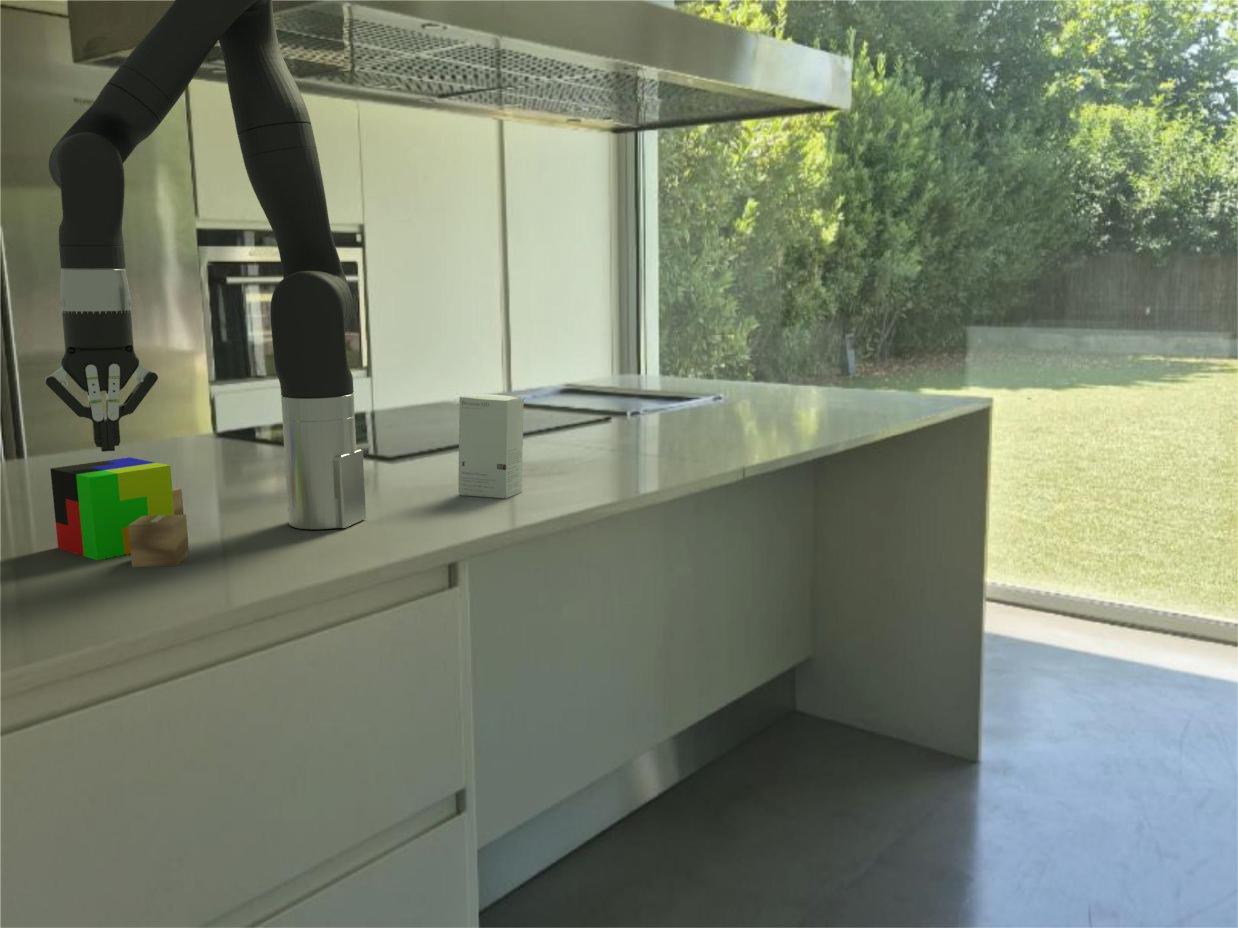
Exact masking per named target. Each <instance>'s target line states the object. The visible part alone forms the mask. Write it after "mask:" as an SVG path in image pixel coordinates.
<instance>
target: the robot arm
mask: <svg viewBox="0 0 1238 928" xmlns="http://www.w3.org/2000/svg"><path fill="white" fill-rule="evenodd" d="M218 42H219V47H220V50H221V54H222V57H223V62H224V67H225V75H226V80H227V89H228V93H229V97H230V103H231V109H232V113H233V118H234V124H235V129H236V134H237V138H238V143H239V148H240V151H241V154H242V159H243V163H244V168H245V170H246V174H247V177H248V180H249V182H250V185H251V187H252V189H253V192H254V194H255V196H256V199H257V201H258V203H259V205H260V207H261V209H262V211H263V213H264V215H265V217H266V220H267V221H268V223H269V225H270V227H271V230H272V232H273V235H274V238H275V241H276V245H277V249H278V252H279V259H280V264H281V265H280V266H281V270H282V271H281V272H282V276H283V277H282V278H283V279H281V280H280V281H279V282H278V283H277V285H275V288H274V290H273V293H272V296H271V299H270V308H269V309H270V315H269V317H270V327H271V339H272V340H271V341H272V350H273V351H272V353H273V360H274V361H273V362H274V369H275V373H276V375H277V379H278V381H279V384H280V385H279V386H280V395H281V396H280V398H281V399H280V401H281V415H282V417H281V418H282V433H283V447H284V449H283V450H284V463H285V466H284V467H285V481H286V484H285V485H286V497H287V512H288V524H289V526H290V527H292V528H296V529H300V530H301V529H302V530H329V529H345V528H349V527H350V526H353V525H354V524H357V523H359V522H361V521H363V520H366V519H367V511H366V510H367V509H366V489H365V487H366V486H365V470H364V469H365V468H364V451H363V450H362V449H360V448H357V439H356V436H357V435H356V419H355V418H356V416H355V415H356V414H355V413H356V412H355V395H354V392H355V391H354V379H353V377H354V376H353V373H352V371H351V369H350V365H349V362H348V357H347V346H346V345H347V342H346V330H347V328H348V326H349V325H350V323H351V322H352V321H351V320H352V318H353V313H354V299H353V295H352V292H351V289H350V286H349V282H348V280H347V277H346V274H345V271H344V269H343V266H342V262H341V259H340V256H339V253H338V250H337V246H336V244H335V241H334V236H333V233H332V228H331V223H330V219H329V218H330V217H329V212H328V205H327V204H328V203H327V197H326V191H325V186H324V179H323V175H322V170H321V166H320V165H321V164H320V159H319V154H318V149H317V148H318V147H317V144H316V138H315V135H314V130H313V126H312V122H311V118H310V115H309V111H308V108H307V105H306V103H305V101H304V98H303V96H302V94H301V91H300V89H299V87H298V85H297V83H296V81H295V78H293V75H292V73H291V72H290V69H289V67H288V65H287V63H286V61H285V58H284V56H283V54H282V50H281V47H280V43H279V39H278V34H277V28H276V21H275V15H274V8H273V0H174V1H173V2H172V3H171V5H170V6H169V8H168V9H167V10H166V12H165V13H164V14H163V15H162V17H161V18H160V19H159V20H158V21H157V22H156V24H154V26H153V27H152V28H151V30H149V32H147V34H146V35H145V36H144V37H143V39H141V40H140V42H139V43H138V44H137V46H135V48H133V50H132V52H131V53H129V55H128V56H127V57H126V58H125V60H124V61H123V62H122V64H120V66H119V67H118V68H117V70H116V71H115V72H114V74H113V75H112V76H111V77H110V78H109V80H107V83H106V84H105V85H104V86H103V88H102V89H101V91H100V92H99V94H98V95H97V97H96V99H95V100H94V101H93V103H92V105H91V106H90V107H89V108H88V109H87V110H86V111H85V112H84V113H83V114H82V115H81V116H80V117H79V118H78V119H77V120H76V121H75V122H74V123H73V124H72V126H71V127H70V128H69V129H68V130H67V131H65V134H63V136H62V137H61V138H60V139H59V140H58V141H57V142H56V144H55V146H53V148H52V150H51V152H50V155H49V158H48V169H49V174H50V177H51V178H52V181H53V182H54V183H55V185H56V186H57V187H58V188H59V189H60V195H61V196H60V197H61V209H62V219H61V222H60V224H59V229H58V246H59V247H58V248H59V252H58V253H59V261H60V262H59V263H60V281H59V283H60V284H59V285H60V286H59V287H60V288H59V290H60V306H61V315H62V327H63V341H64V342H63V343H64V355H63V357H62V358H61V364H60V365H61V366H60V367H59V368H58V369H57V370H55V371H54V372H53V373H52V374H51V375H50V374H49V375H47V376H45V377H44V383H45V384H46V386H48V388H49V389H50V390H51V391H52V392H53V393H54V394H55V395H56V396H57V397H58V398H60V400H61V401H62V402H63V403H64V404H66V405H67V407H68V408H69V409H70V410H71V411H73V413H75V415H76V416H77V417H79V418H86V419H90V420H91V422H92V423H91V424H92V434H93V442H94V444H95V446H96V447H97V448H100V451H101V452H115V451H116V447H120V443H121V434H120V432H121V431H120V419H121V418H123V417H125V416H128V415H131V414H134V412H135V411H136V410H137V408H138V407H139V405H140V404H141V403H142V402H143V400H144V398H145V397H146V396H147V394H149V392H150V391H151V390H152V388H153V386H154V385H155V384H156V382H157V381H158V379H159V376H158V375H157V373H155V372H154V371H152V370H149V369H147V368H146V367H144V366H143V365H141V364H140V359H139V357H138V356H137V354H136V352H135V348H134V337H133V336H134V335H133V323H132V322H133V321H132V310H131V309H132V308H131V307H132V299H131V296H130V294H131V292H130V286H129V282H128V276H127V270H126V268H127V267H126V254H125V243H124V235H123V217H124V204H125V187H126V186H125V181H126V178H125V169H124V164H125V162H126V161H127V159H128V158H129V157H130V155H132V153H133V151H134V150H135V149H136V148H137V147H138V145H139V144H141V143H142V142H143V141H145V140H146V139H147V138H149V136H151V135H152V134H153V133H154V132H155V131H156V129H157V128H158V127H159V126H160V124H162V122H163V121H164V119H165V118H166V116H167V115H168V114H169V113H170V112H171V110H172V109H173V107H175V105H176V103H177V102H178V101H179V99H181V97H182V96H183V94H184V93H185V91H186V90H187V88H188V86H189V85H190V83H191V82H192V80H193V79H194V77H195V76H196V74H197V72H198V71H199V69H200V68H201V66H202V65H203V63H204V62H205V60H206V58H208V56H209V54H210V53H211V51H212V50H213V48H214V47H215V46H216V44H217V43H218ZM67 374H68V375H69V377H70V378H71V379H72V380H73V381H74V382H75V383H76V385H77V386H79V388H80V389H81V390H82V391H84V392H86V395H87V401H88V405H89V406H86V405H83V404H82V403H81V402H80V401H79V400H78V399H77V398H76V397H75V396H74V395H73V394H72V393H71V392H70V391H69V390H68V389H67V387H68V386H69V381H68V379H67ZM134 374H136V375H135V376H134V377H135V378H134V381H135V383H136V385H135V387H134V388H133V389H132V391H131V392H130V393H129V395H128V396H127V397H126V399H125V400H124V402H123V403H122V404H120V391H121V390H122V389H124V388H125V386H126V385H127V383H128V382H129V380H130V379H131V378H132V376H133V375H134ZM101 392H105V414H104V410H103V405H102V396H101ZM105 416H106V419H105Z"/></svg>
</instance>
